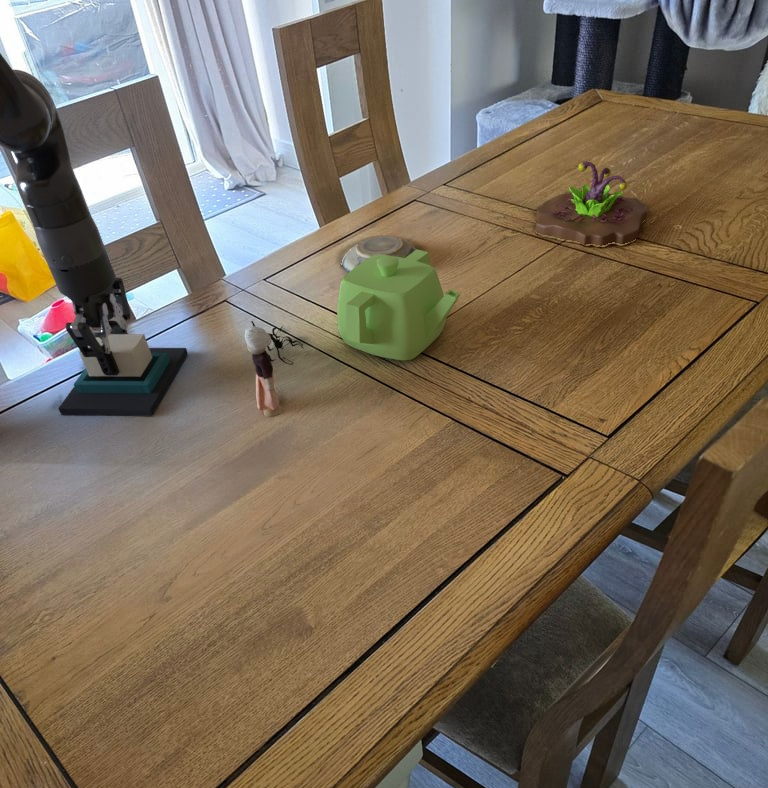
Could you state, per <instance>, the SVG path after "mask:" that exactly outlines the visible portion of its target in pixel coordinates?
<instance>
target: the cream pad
mask: <svg viewBox="0 0 768 788" xmlns="http://www.w3.org/2000/svg"><path fill="white" fill-rule="evenodd" d="M96 340H97V341H98V343H99V344H100V345H102V343H101V339H100V338H96ZM108 340H109V345H110V351H112V354H113V357H114V359H115V362H116V364H117V367H118V369H119V374H118V375H117V376H141V375H142V373H143V372H144V370H145V369H146V367H147V365H148V364H149V362H150V361H151V359H152V355H151V352H150V349H149V348H150V347H149V343H148V340H147V338H146V336H145V334H144V333H128V334H110V336H108ZM88 348H89V346H88ZM78 353H79V356H80V358H81V360H82V363H83V365H84V367H85V368H86V370H87V372H88V374H89V376H107V375H105V374H104V373H103V372H102V370H101V367H100V365H99V363H98V360H97V358H96V357H84V356H83V354H82V353H81V351H80V350H79V352H78ZM85 368H84V369H85Z"/></svg>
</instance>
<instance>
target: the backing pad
mask: <svg viewBox="0 0 768 788" xmlns="http://www.w3.org/2000/svg"><path fill="white" fill-rule="evenodd" d="M149 349H150V352H151V355H152V359H151V361H150V362H149V364H148V365H147V367H146V369H145V370H144V372H143V373H142V375H141V376H89V374H88V372H87V370H86V368H84V369H83V371H81V373H80V374H79V376H78V378H77V379H76V380H75V382H74V383H73V388H72V389H71V390H70V392H68V393H67V396H66V397H65V398H64V400H63V401H62V402H61V404H60V405H59V406H58V409H57V410H58V411H59V413H60V415H61V416H103V417H104V416H109V417H110V416H112V417H113V416H115V417H154V415H155V413H156V411H157V409H158V408H159V406H160V404H161V402H162V401H163V399H164V397H165V395H166V394H167V392H168V390H169V389H170V387H171V386H172V383H173V382H174V380H175V378H176V376H177V375H178V373H179V371H180V370H181V368H182V366H183V365H184V362H185V361H186V360H187V357H188V356H189V353H188V349H187V347H149Z"/></svg>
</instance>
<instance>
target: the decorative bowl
mask: <svg viewBox="0 0 768 788" xmlns="http://www.w3.org/2000/svg"><path fill="white" fill-rule="evenodd" d="M415 250H417V248H416V247H415V246H414V245H413V244H411V243H409V242H408V241H406V240H403V239H402V238H401V239H400V238H399V237H397V236H395V235H387V234H379V235H373V236H369V237H366V238H364V239H362V240H361V241H360V242H358V243H357V244H354V245H353V246H352V247H351V248H350V249H349V250H347V252H346V253H345V254H344V255H343V258H342V260H341V261H342V263H341V262H340V264H341V265H342V266H341V267H343V269H344V270H345V272H347V273H349V272H350V271H351V270H352V269H354V268H355V267H356V266H358V265H359V264H361V263H362V262H363V261H365V260H366V259H368V258H370V257H371V256H373V255H389V256H395V257H401V258H406V257H407V256H409V255H410V254H411V253H413V252H414V251H415Z"/></svg>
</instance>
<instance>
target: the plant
mask: <svg viewBox="0 0 768 788" xmlns="http://www.w3.org/2000/svg"><path fill="white" fill-rule="evenodd" d="M588 167H590V168H591V172H592V179H591V187H589V186H588V185H587V184H585V183H583V184H582V186H581V190H580V188H577V187H574V186H569V188H568V189H569V191H570V192H569V191H568V192H566V193H562V194H558V195H556V196H554V197H551V198H550V199H548V200H547V201H545V202H544V203H543V204H542V205H541V206H540V207H539V208H538V209H537V210H536V215H535V222H536V221H537V222H536V223H535V229H534V233H535V232H537V233H540V234H542V235H548V236H554V237H557V238H560V239H566V240H572V241H577V242H580V243H582V244H583V245H586V244H595V245H600V246H602V245H606V244H608V243H612V242H615V243H619V244H625V243H628V242H631V241H633V240H635V239H636V238H637V239H638V238H639V233H640V228H641V226H642V225H643V223H642V222H643V221H644V220H646V221H647V217H648V212H649V210H648V209H647V207H646V205H645V203H644V202H642V201H640V200H639V199H638V198H636V197H626V196H622V195H623V194H624V190H626V189H627V188H628V183H627V181H626V180H625V179H623V178H624V177H621V176H620V175H611V174H612V172H611V169H610V168H608V167H604V168H603V169H602V170H601V171H600V174H599V173H598V169H597V167H596V165H595V164H594V163H593V162H591V161H587V160H586V161H582V162H581V163H579V164H578V167H577V168H578V171H579V172H585V171H586V170H587V169H588ZM604 177H607V178H606V179H604ZM614 180H615V181H616V180H619V189H620V190H622V191H616V192H614V193H610V188H611V186H610V185H609V184H610V183H611V181H614ZM640 225H641V226H640ZM637 239H636V240H637Z"/></svg>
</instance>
